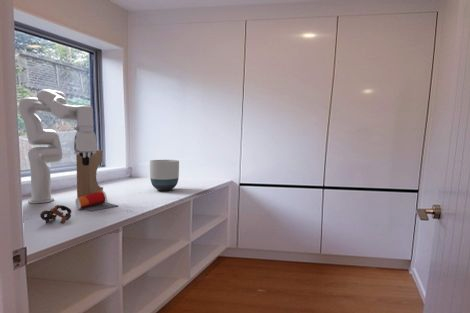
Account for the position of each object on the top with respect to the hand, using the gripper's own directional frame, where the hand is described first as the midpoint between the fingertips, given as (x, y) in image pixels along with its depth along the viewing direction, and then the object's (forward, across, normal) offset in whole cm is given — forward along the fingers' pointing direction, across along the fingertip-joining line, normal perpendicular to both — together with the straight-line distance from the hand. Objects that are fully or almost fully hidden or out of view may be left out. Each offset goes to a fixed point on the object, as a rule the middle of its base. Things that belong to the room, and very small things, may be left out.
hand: (85, 165), depth 155 cm
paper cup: (+20, -4, +2) cm, 20 cm away
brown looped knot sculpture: (+23, -20, -14) cm, 34 cm away
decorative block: (+23, +10, +16) cm, 30 cm away
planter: (+23, +63, +15) cm, 69 cm away
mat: (+23, +6, 0) cm, 24 cm away
